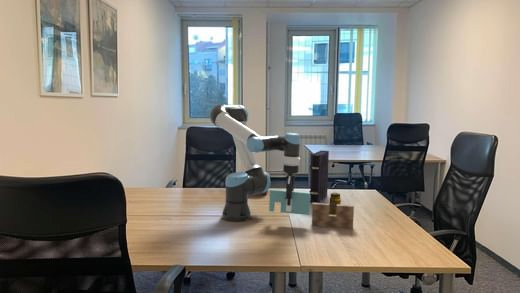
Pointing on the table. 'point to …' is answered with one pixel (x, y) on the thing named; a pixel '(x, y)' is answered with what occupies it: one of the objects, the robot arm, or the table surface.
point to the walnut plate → (332, 216)
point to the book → (319, 176)
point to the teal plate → (298, 201)
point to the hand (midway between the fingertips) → (289, 210)
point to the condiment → (334, 203)
